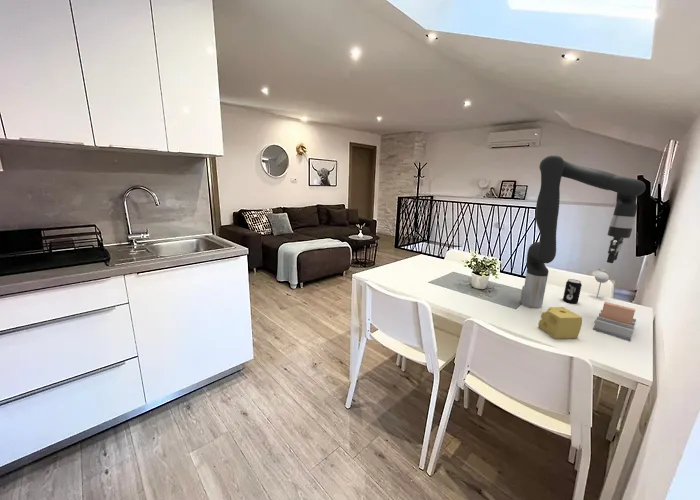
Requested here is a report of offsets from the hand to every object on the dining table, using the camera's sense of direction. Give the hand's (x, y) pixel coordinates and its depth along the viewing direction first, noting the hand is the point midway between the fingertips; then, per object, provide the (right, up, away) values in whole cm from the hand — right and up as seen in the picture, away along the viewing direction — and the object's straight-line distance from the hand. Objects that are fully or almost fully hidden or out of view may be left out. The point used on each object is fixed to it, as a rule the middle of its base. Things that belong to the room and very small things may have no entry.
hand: (611, 261), depth 131 cm
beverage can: (0, -23, +25) cm, 34 cm away
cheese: (-29, -31, -6) cm, 43 cm away
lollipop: (+20, -22, +31) cm, 43 cm away
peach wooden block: (-2, -29, -3) cm, 29 cm away
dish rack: (-2, -30, -3) cm, 30 cm away
